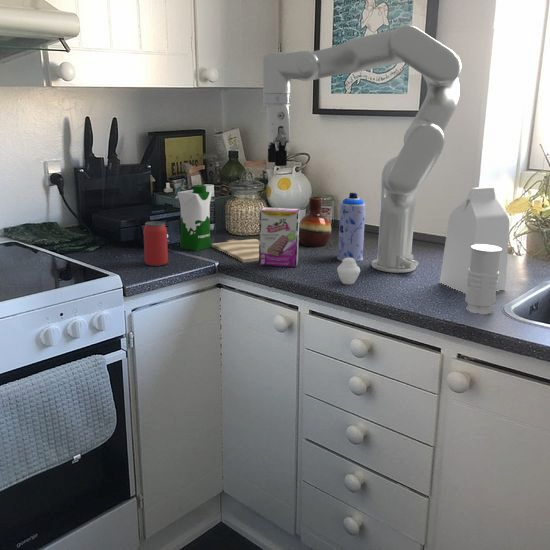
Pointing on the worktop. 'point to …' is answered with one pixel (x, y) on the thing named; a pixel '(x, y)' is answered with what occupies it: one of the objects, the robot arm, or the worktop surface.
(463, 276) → the milk
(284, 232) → the candy bar box
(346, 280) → the white rounded jar
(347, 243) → the aerosol can
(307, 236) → the vase
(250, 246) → the cutting board
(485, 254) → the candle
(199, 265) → the worktop surface
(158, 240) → the beer can
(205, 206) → the milk carton
